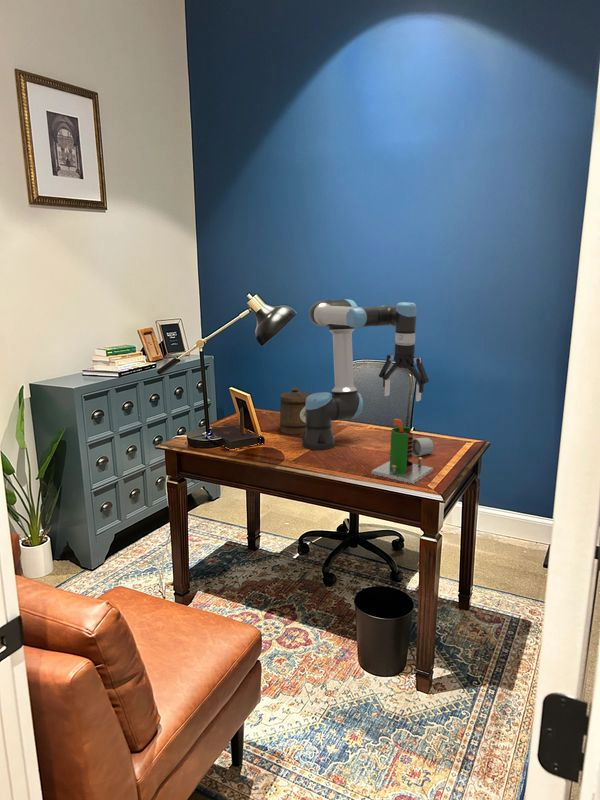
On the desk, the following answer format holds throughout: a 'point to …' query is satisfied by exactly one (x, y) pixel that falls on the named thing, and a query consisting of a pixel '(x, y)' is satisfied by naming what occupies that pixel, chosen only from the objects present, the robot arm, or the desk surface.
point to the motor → (401, 448)
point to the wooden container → (293, 412)
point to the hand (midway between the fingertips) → (402, 398)
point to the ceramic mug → (422, 446)
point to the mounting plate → (408, 477)
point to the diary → (236, 437)
